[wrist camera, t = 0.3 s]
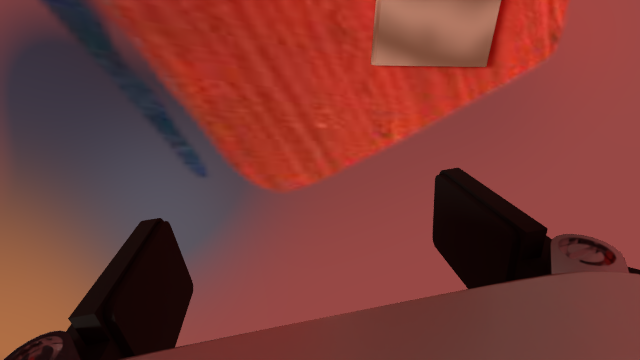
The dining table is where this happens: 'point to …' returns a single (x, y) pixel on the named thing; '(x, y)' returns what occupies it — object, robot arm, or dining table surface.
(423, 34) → the birch board
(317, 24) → the dining table surface
